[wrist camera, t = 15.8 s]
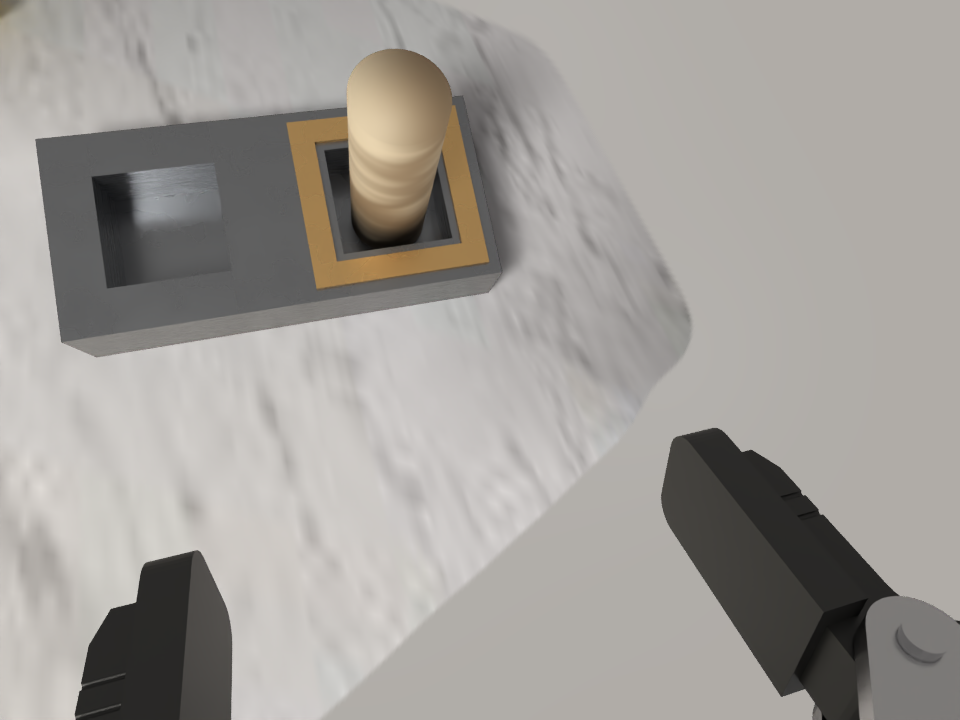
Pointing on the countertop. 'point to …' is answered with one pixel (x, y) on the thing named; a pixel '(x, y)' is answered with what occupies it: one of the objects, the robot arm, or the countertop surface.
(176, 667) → the robot arm
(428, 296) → the base plate
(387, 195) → the peg
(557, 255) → the countertop surface
